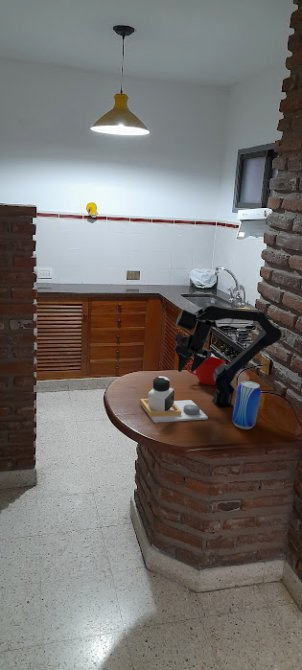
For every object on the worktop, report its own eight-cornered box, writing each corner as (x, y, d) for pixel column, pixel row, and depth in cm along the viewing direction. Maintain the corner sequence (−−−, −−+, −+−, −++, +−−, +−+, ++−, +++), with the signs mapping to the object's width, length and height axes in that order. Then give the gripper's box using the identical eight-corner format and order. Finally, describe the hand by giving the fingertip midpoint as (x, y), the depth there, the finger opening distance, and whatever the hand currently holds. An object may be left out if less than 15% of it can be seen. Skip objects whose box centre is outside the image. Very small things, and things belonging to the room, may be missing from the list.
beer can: (249, 432, 174) (257, 391, 169) (227, 424, 178) (234, 384, 173) (257, 424, 181) (265, 384, 176) (236, 417, 185) (243, 377, 180)
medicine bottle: (164, 414, 178) (165, 387, 173) (148, 408, 182) (147, 381, 176) (174, 404, 184) (174, 377, 178) (157, 399, 187) (157, 372, 182)
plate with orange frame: (190, 401, 194) (191, 396, 193) (207, 419, 181) (208, 413, 180) (139, 404, 186) (140, 398, 186) (152, 422, 173) (153, 416, 172)
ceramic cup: (181, 376, 220) (183, 355, 218) (216, 377, 224) (220, 356, 221) (188, 387, 208) (191, 365, 205) (226, 388, 212) (229, 366, 209)
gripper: (196, 328, 199) (182, 363, 202) (171, 324, 184) (156, 362, 187) (218, 339, 193) (203, 375, 196) (194, 336, 178) (178, 375, 181)
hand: (185, 371), depth 190 cm, fingers open, 9 cm apart
